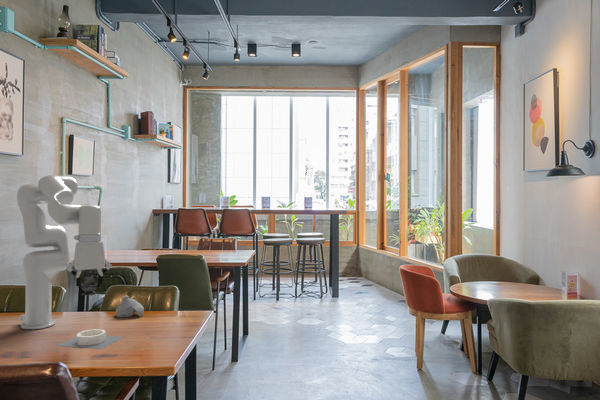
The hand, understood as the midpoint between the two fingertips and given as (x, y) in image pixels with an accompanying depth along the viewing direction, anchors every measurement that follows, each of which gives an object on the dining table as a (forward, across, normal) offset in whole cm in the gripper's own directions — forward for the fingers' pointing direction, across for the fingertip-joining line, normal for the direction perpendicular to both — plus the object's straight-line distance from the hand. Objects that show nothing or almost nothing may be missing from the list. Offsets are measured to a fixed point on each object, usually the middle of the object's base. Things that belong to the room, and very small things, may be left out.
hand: (89, 286), depth 164 cm
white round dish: (+20, +1, 0) cm, 20 cm away
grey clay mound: (+22, +19, +36) cm, 47 cm away
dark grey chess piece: (+3, 0, 0) cm, 3 cm away
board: (+21, +1, 0) cm, 21 cm away
